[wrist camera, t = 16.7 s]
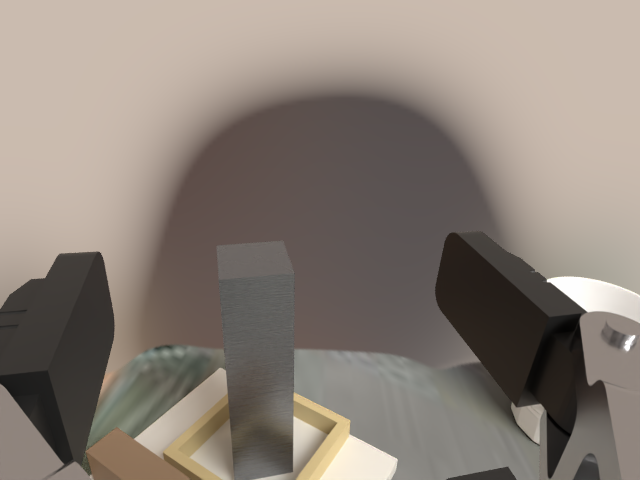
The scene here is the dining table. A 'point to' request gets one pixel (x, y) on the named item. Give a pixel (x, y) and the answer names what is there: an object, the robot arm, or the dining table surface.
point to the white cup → (590, 299)
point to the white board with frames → (216, 447)
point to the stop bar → (258, 355)
